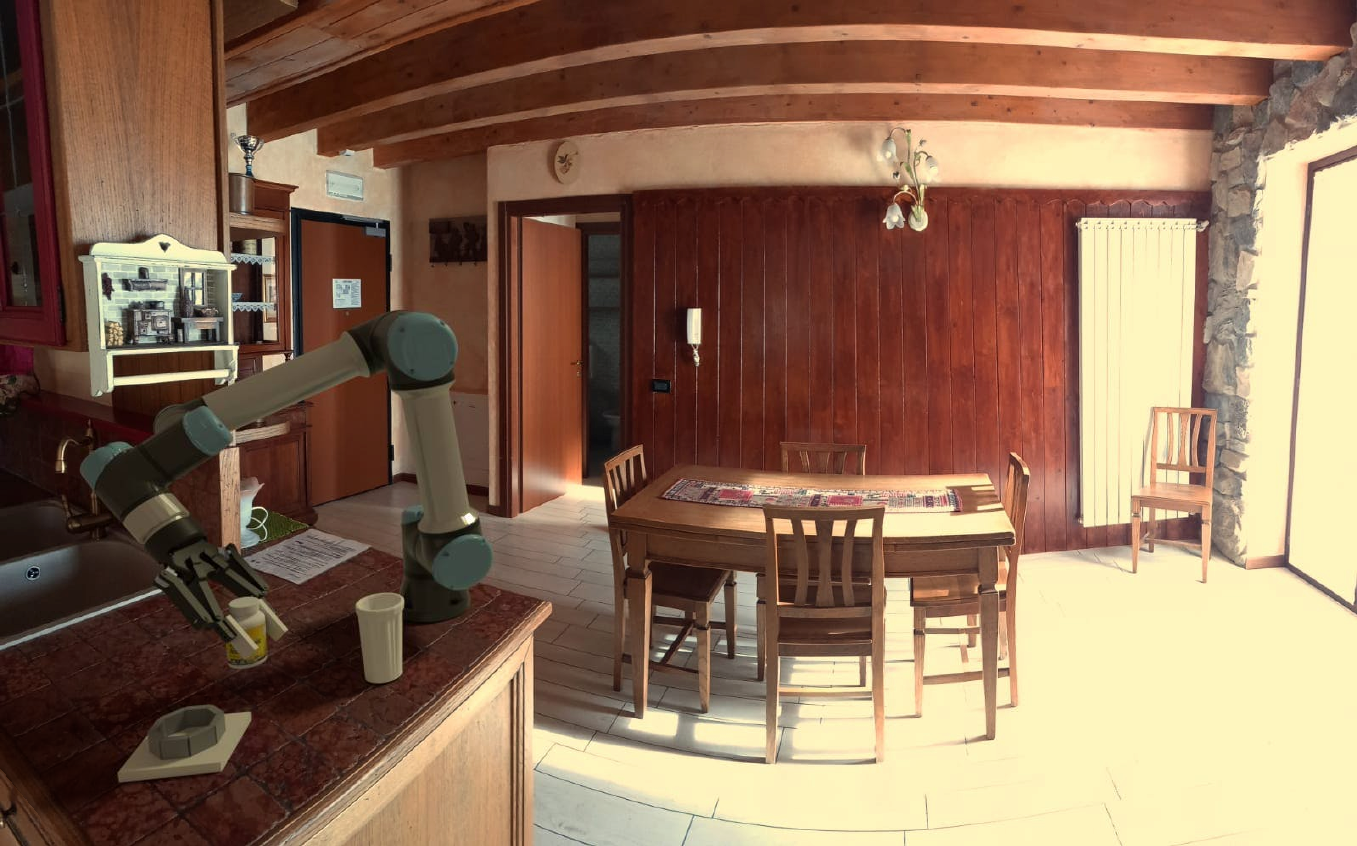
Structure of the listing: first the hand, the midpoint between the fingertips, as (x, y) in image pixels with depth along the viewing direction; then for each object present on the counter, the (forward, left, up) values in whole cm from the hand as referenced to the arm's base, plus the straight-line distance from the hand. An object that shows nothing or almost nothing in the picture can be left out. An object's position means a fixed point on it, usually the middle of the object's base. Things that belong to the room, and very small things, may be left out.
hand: (266, 644), depth 114 cm
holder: (+11, +2, -15) cm, 19 cm away
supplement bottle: (+3, -2, -3) cm, 5 cm away
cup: (-14, -15, -15) cm, 26 cm away
